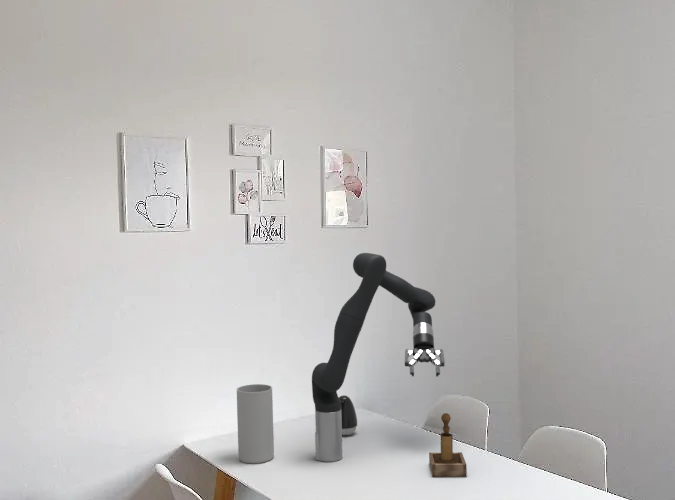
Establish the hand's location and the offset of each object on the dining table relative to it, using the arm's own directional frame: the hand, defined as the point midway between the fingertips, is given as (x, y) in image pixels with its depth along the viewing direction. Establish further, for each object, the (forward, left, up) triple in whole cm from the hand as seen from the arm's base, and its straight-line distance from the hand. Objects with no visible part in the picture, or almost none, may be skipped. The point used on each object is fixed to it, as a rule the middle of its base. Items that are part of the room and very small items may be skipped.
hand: (425, 375), depth 243 cm
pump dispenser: (-30, +24, -28) cm, 48 cm away
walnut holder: (+6, -17, -28) cm, 33 cm away
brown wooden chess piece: (+5, -17, -27) cm, 33 cm away
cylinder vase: (-60, -4, -28) cm, 67 cm away
